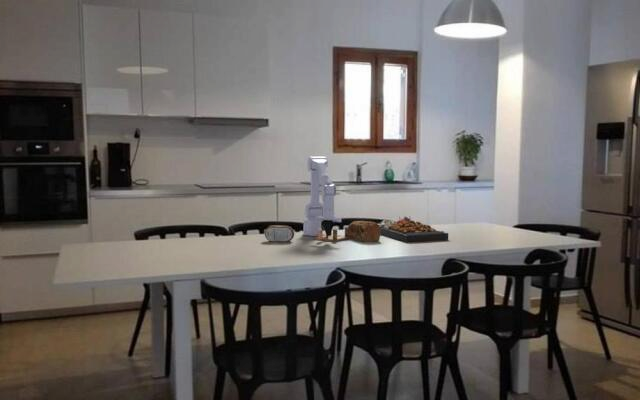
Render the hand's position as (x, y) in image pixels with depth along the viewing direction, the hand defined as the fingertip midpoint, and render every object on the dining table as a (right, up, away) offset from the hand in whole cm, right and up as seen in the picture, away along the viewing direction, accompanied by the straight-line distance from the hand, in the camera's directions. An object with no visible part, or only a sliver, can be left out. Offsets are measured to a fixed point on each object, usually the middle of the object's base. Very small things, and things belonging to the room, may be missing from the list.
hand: (328, 235), depth 278 cm
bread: (+19, -3, +13) cm, 23 cm away
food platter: (+43, -3, +27) cm, 51 cm away
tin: (-25, -4, +4) cm, 26 cm away
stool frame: (+2, -3, +13) cm, 13 cm away
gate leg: (-3, -2, +5) cm, 6 cm away
